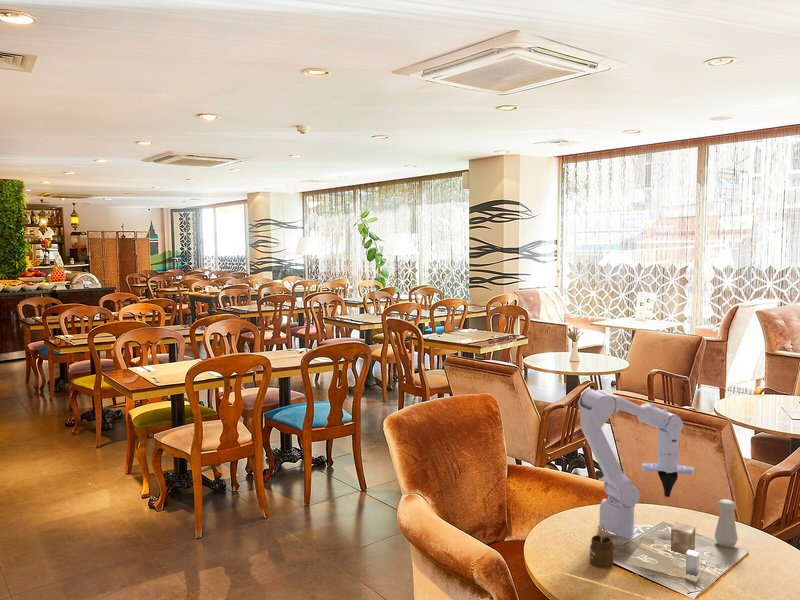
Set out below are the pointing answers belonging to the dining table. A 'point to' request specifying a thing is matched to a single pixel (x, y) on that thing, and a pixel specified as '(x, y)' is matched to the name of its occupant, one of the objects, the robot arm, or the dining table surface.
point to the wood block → (682, 538)
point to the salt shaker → (726, 524)
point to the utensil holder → (601, 550)
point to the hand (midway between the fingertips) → (667, 495)
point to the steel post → (692, 562)
